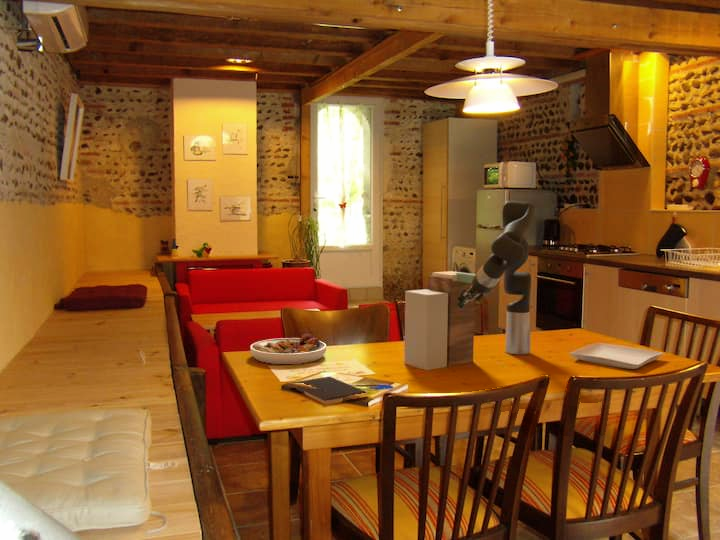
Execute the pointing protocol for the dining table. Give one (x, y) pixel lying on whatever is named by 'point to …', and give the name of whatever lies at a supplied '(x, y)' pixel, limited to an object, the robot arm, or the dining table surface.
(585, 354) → the square plate
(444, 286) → the wood grain pillar
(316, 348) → the bowl
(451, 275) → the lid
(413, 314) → the tall grey pillar
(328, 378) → the hardcover book
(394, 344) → the dining table surface
